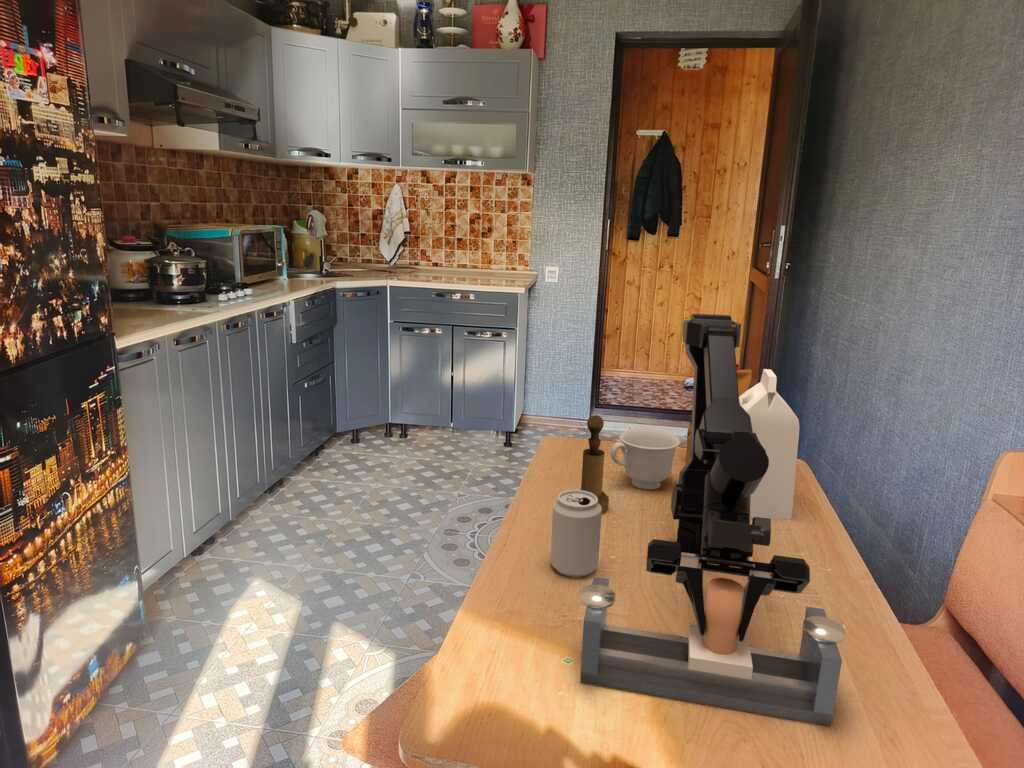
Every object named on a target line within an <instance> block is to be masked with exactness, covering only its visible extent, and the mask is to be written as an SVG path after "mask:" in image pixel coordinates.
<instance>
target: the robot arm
mask: <svg viewBox="0 0 1024 768" xmlns="http://www.w3.org/2000/svg"><path fill="white" fill-rule="evenodd" d="M741 332H742V324H741V323H740V322H736V321H734V320H733V318H732V316H731V315H729V314H728V315H726V314H725V315H724V314H707V313H706V314H705V313H691V316H690V319H684V320H683V325H682V332H681V333H682V335H681V337H682V338H681V339H682V342H683V343H684V344H685V354H686V357H687V359H688V360H689V362H690V364H691V365H692V367H693V370H694V372H693V390H692V391H693V393H692V410H691V411H692V413H691V418H692V428H691V448H690V459H689V460H688V461H687V463H686V462H685V465H684V466H683V467H682V468H681V470H680V472H679V473H678V474H679V475H678V483H675V484H674V487H673V490H672V493H671V498H670V510H671V511H670V512H671V515H672V516H671V517H672V519H673V521H676V520H678V526H677V527H678V528H677V532H676V533H677V535H676V540H675V541H671V540H666V539H665V540H664V539H663V540H662V539H657V538H656V539H655V538H652V540H650V541H649V542H648V543H647V552H646V564H645V565H646V569H645V571H646V572H649V573H651V574H657V575H667V576H672V575H673V574H675V573H676V574H675V580H674V581H675V582H676V583H677V584H682V585H683V587H684V588H685V591H686V595H687V596H688V599H689V602H690V604H691V607H692V611H693V614H694V616H695V621H696V624H697V625H698V629H699V632H700V635H701V636H704V632H705V598H704V596H705V595H704V584H703V583H704V582H703V581H704V579H703V577H704V576H703V575H704V574H703V573H704V572H713V573H718V574H719V573H720V574H727V575H732V576H733V575H734V576H741V577H747V578H746V579H747V582H746V584H745V587H743V588H744V594H743V602H742V610H741V618H740V626H739V642H743V640H744V637H745V634H746V632H748V628H749V625H750V623H751V620H752V617H753V615H754V614H753V613H754V610H755V609H756V606H757V604H758V602H759V600H760V599H761V597H762V596H764V597H766V596H770V594H771V593H772V591H775V592H784V593H791V594H801V593H803V591H804V590H805V588H806V587H807V586H808V585H809V584H810V581H811V577H810V576H811V575H810V573H811V571H810V565H809V564H808V563H807V561H806V560H805V558H799V557H792V556H784V555H777V554H774V555H773V556H772V559H771V560H770V562H768V563H767V562H761V561H753V560H750V558H752V557H753V555H754V553H753V552H754V545H755V546H756V545H757V546H764V547H769V546H770V544H771V535H772V525H771V524H772V521H771V519H770V518H760V517H752V521H751V517H750V495H751V494H753V493H754V491H755V490H756V488H757V487H758V485H759V483H760V482H761V480H762V478H763V477H764V475H765V473H766V472H767V469H768V467H769V458H768V456H767V454H766V450H765V449H764V447H763V446H762V445H761V443H760V441H759V440H758V438H757V435H756V433H753V431H752V424H751V418H750V415H749V414H748V413H747V412H746V411H745V410H744V409H743V408H742V406H741V405H740V401H739V391H738V379H737V369H738V368H737V358H736V348H740V344H741V335H742V333H741ZM750 523H751V524H750Z"/></svg>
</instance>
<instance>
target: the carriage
mask: <svg viewBox="0 0 1024 768" xmlns="http://www.w3.org/2000/svg"><path fill="white" fill-rule="evenodd" d="M707 584H708V585H707V591H706V592H707V593H706V602H705V609H704V611H705V632H704V636H701V635H700V632H699V629H698V625H697V623H692V622H691V623H690V622H688V627H687V628H688V629H687V637H688V669H690V670H696V671H703V672H709V673H715V674H721V675H727V676H733V677H739V678H745V679H751V678H752V670H753V665H752V659H751V652H750V647H751V646H750V641H749V634H748V631H746V634H745V637H744V640H743V642H739V626H740V618H741V610H742V602H743V594H744V588H745V587H743V585H742V583H739V582H737V581H735V580H733V579H731V578H728V577H715V578H712V579H710V580H709V581H708V583H707Z"/></svg>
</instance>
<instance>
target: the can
mask: <svg viewBox="0 0 1024 768" xmlns="http://www.w3.org/2000/svg"><path fill="white" fill-rule="evenodd" d="M556 498H557V499H556V500H555V501H554V503H553V504H552V516H551V517H552V522H551V539H550V541H551V544H550V546H551V547H550V565H552V567H553V568H554V569H555V570H556V571H557V572H558V573H559V574H562V575H563V576H567V577H572V578H582V577H585V576H588V575H590V574H591V573H593V572H594V571H596V570H597V568H598V566H599V562H600V561H599V560H600V547H601V546H600V541H601V527H602V508H601V506H600V504H599V503H598V498H597V497H596V495H594V494H592V493H590V492H587V491H583V490H580V489H568V490H564V491H561V492H560V493H558V495H557V497H556Z"/></svg>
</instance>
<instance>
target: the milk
mask: <svg viewBox="0 0 1024 768" xmlns="http://www.w3.org/2000/svg"><path fill="white" fill-rule="evenodd" d="M777 382H778V381H777V375H776V374H775V373H774V372H773V370H772V369H771V368H770V369H769V368H768V369H767V368H763V369H762V373H761V378H760V382H757V384H755V385H754V386H752V387H751V388H749V389H748V390H747V391H746V392H745V393H743V394H742V395H741V396H739V401H740V405H741V406H742V408H743V409H744V410H745V411H746V412H747V413H748V414H749V415H750V418H751V424H752V431H753V433H756V435H757V438H758V440H759V441H760V443H761V445H762V446H763V447H764V449H765V450H766V454H767V456H768V458H769V467H768V469H767V472H766V473H765V475H764V477H763V478H762V480H761V482H760V483H759V485H758V487H757V488H756V490H755V491H754V493H753V494H751V495H750V518H753V517H760V518H768V519H772V520H780V521H782V520H783V521H792V518H793V507H794V496H795V495H794V493H795V485H796V483H795V482H796V472H797V462H798V461H797V460H798V451H799V450H798V449H799V448H798V447H799V440H800V439H799V437H800V421H799V420H800V419H799V418H798V417H797V414H795V413H794V411H793V410H792V408H791V407H790V405H788V403H787V402H786V400H785V399H783V397H782V396H781V395H780V394H779V393H778V391H777Z"/></svg>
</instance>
